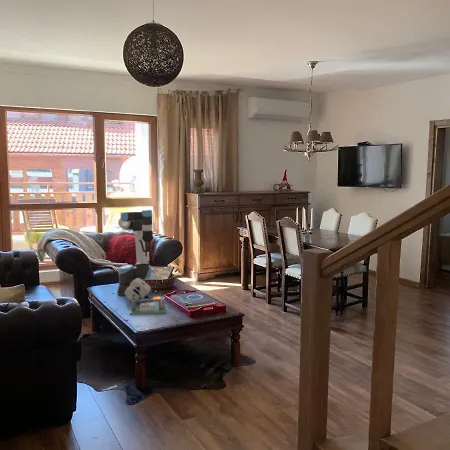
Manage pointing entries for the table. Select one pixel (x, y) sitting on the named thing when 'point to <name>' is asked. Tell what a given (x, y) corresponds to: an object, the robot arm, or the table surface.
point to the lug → (161, 304)
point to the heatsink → (146, 306)
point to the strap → (147, 300)
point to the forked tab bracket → (132, 305)
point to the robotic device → (137, 290)
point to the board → (156, 311)
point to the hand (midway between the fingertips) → (148, 260)
